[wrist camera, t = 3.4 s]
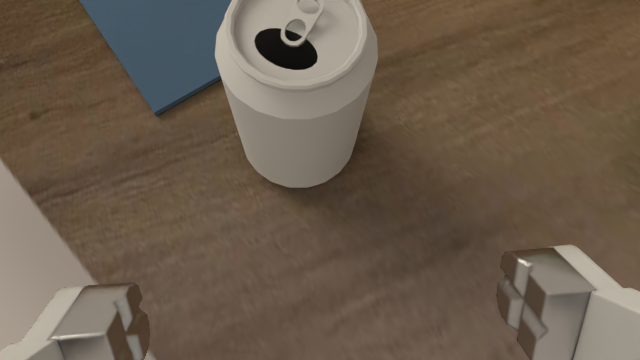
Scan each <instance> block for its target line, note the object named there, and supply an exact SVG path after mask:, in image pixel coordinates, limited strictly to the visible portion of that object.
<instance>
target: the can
mask: <svg viewBox="0 0 640 360" xmlns="http://www.w3.org/2000/svg"><path fill="white" fill-rule="evenodd" d="M215 59H216V62H217V65H218V69H219V72H220V76H221V79H222V82H223V85H224V88H225V91H226V94H227V98H228V101H229V104H230V107H231V110H232V113H233V116H234V119H235V123H236V126H237V129H238V132H239V135H240V138H241V141H242V145H243V148H244V151H245V154H246V157H247V159H248V160H249V162H250V163H251V164H252V166H253V167H254V168H255V170H256V171H257V172H258V173H259V174H261V175H262V176H264V177H265V178H267V179H268V180H269V181H271V182H273V183H276V184H279V185H283V186H286V187H289V188H308V187H311V186H315V185H318V184H321V183H325V182H326V181H328V180H329V179H331V178H332V177H334V176H335V175H337V174H338V173H339V172H340V171H341V170H342V169H343V167H344V166H345V165H346V163H347V162H348V161H349V159H350V157H351V154H352V151H353V148H354V145H355V141H356V138H357V134H358V130H359V127H360V123H361V119H362V116H363V112H364V108H365V105H366V101H367V97H368V94H369V90H370V86H371V83H372V79H373V76H374V72H375V68H376V65H377V61H378V49H377V37H376V34H375V32H374V30H373V28H372V25H371V23H370V21H369V18H368V17H367V14H366V12H365V10H364V8H363V5H362V3H361V1H360V0H232V1H231V3H230V5H229V7H228V9H227V11H226V13H225V18H224V20H223V22H222V24H221V26H220V28H219V30H218V32H217V36H216V47H215Z"/></svg>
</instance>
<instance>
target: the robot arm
mask: <svg viewBox="0 0 640 360" xmlns="http://www.w3.org/2000/svg"><path fill="white" fill-rule="evenodd" d="M500 267H501V269H502V270H503V272H504V273H505V274H506V275H505V276H504V277H503V278H502V279H501V280H500V281H499V282H498V285H497V294H496V296H497V303H498V308H499V311H500V313H501V316H502V317H503V319H504V321H505V322H506V324H507V325H508V326H510V327H512V328H514V329H515V330H517V331H518V336H517V341H518V342H519V344H520V345H521V347H522V348H523V350H524V351H525V353H526V354H527V356H528V357H529V359H530V360H640V291H637V290H635V289H632V288H622V287H621V286H620V285H619V284H618V283H617V282H616V281H615V280H613V279H612V278H611V277H610V276H609V275H608V274H607V273H606V272H604V271H603V270H602V269H601V268H600V267H599V266H598V265H597V264H596V263H594V262H593V261H592V260H591V259H590V258H589V257H588V256H587V255H586V254H584V253H583V252H582V251H581V250H580V249H579V248H578V247H576V246H573V245H562V246H553V247H548V248H540V249H529V250H518V251H508V252H505V253H504V255H503V256H502V260H501V266H500ZM141 300H142V295H141V292H140V289H139V286H138V285H137V284H135V283H119V284H103V285H88V286H75V287H64V288H62V289H60V290H58V291H57V293H56V294H55V295H54V297H53V298H52V299H51V301H50V302H49V304H48V305H47V307H46V308H45V309H44V310H43V312H42V313H41V315H40V316H39V317H38V319H37V320H36V321H35V323H34V324H33V326H32V327H31V328H30V330H29V331H28V333H27V334H26V336H25V337H24V338H23V340H22V341H21V342H20V343H13V344H11V345H9V346H7V347H6V348H4V349H2V350H1V351H0V360H144V359H145V356H146V353H147V350H148V347H149V338H150V328H149V321H148V317H147V314H146V313H145V312H143V311H142V310H141V309H140V308H138V307H139V305H140V302H141Z"/></svg>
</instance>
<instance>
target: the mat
mask: <svg viewBox="0 0 640 360" xmlns="http://www.w3.org/2000/svg"><path fill="white" fill-rule="evenodd" d="M79 1H80V2H81V4H82V5H83V7H84V8H85V10H86V11H87V13H88V14H89V16H90V17H91V19H92V20H93V22H94V23H95V25H96V26H97V28H98V29H99V31H100V32H101V34H102V35H103V37H104V38H105V40H106V41H107V43H108V44H109V46H110V47H111V49H112V50H113V52H114V53H115V55H116V56H117V58H118V59H119V61H120V62H121V64H122V65H123V67H124V68H125V70H126V71H127V73H128V74H129V76H130V77H131V79H132V80H133V82H134V83H135V85H136V86H137V88H138V89H139V91H140V92H141V94H142V95H143V97H144V99H145V100H146V102H147V103H148V105H149V106H150V108H151V109H152V111H153V112H154V114H155V115H156V116H157V115H159V114H161V113H163V112H164V111H166V110H168V109H170V108H171V107H173V106H175V105H177V104H178V103H180V102H182V101H184V100H185V99H187V98H189V97H191V96H192V95H194V94H196V93H198V92H199V91H201V90H203V89H205V88H206V87H208V86H210V85H212V84H214V83H215V82H217V81H219V80H221V76H220V72H219V69H218V65H217V62H216V59H215V47H216V36H217V32H218V30H219V28H220V26H221V24H222V22H223V20H224V18H225V13H226V11H227V9H228V7H229V5H230V3H231V1H232V0H79Z"/></svg>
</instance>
